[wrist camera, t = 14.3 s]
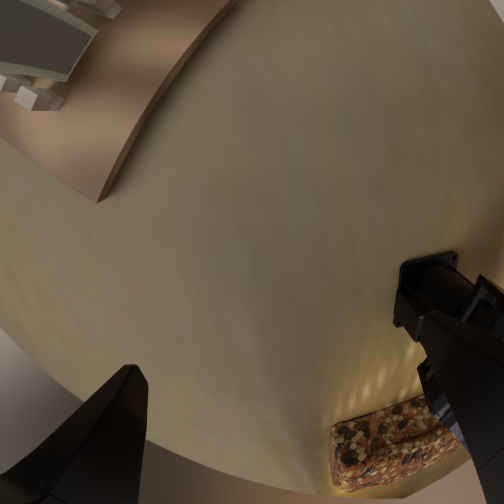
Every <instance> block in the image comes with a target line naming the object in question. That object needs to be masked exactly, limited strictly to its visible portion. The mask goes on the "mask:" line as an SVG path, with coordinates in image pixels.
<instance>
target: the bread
mask: <svg viewBox="0 0 504 504" xmlns="http://www.w3.org/2000/svg"><path fill="white" fill-rule="evenodd" d="M460 444H461V441H460V440H459V439H458V438H457V436H456V435H455V434H453V433H452V432H451V431H450V430H449V429H448V428H446V427H445V426H443V425H442V424H440V423H439V421H438V420H437V419H436V418H435V417H434V416H433V414H431V413H430V412H429V409H428V406H427V403H426V399H425V396H423V395H422V396H419V397H416V398H414V399H410V400H409V401H406V402H403V403H400V404H397V405H394V406H391V407H388V408H385V409H382V410H379V411H375V412H373V413H372V414H370V415H368V416H364V417H363V418H357V419H355V420H354V421H350V422H345V423H341V422H340V423H338V424H337V425H335V426H334V427H332V428H331V432H330V444H329V463H330V470H331V475H332V481H333V485H334V487H338V488H340V489H341V490H343V491H346V492H353V491H356V490H360V489H368V488H371V487H375V486H379V485H387V484H389V483H393V482H395V481H397V480H399V479H402V478H406V477H407V476H409V475H411V474H414V473H415V472H417V471H420V470H421V469H423V468H425V467H427V466H429V465H431V464H433V463H436V462H438V461H440V460H441V459H442V458H445V457H446V456H449V455H450V454H451V453H452V452H454V451H456V449H457V448H458V447H459V445H460Z"/></svg>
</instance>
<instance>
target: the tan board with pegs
mask: <svg viewBox="0 0 504 504" xmlns="http://www.w3.org/2000/svg"><path fill="white" fill-rule="evenodd" d="M47 1H49V2H50V3H52V4H54V5H56V6H58V7H60V8H61V9H63V10H65V11H67V12H68V13H70V14H72V15H73V16H75V17H77V18H79V19H80V20H82V21H83V22H85V23H87V24H88V25H90V26H92V27H93V28H95V29H96V30H98V32H97V34H96V35H95V36H94V38H93V39H92V41H91V42H90V44H89V45H88V47H87V48H86V50H85V51H84V53H83V54H82V56H81V58H80V59H79V61H78V62H77V64H76V66H75V67H74V69H73V71H72V73H71V74H70V76H69V78H68V80H67V82H62V81H57V80H52V79H46V78H41V77H35V76H28V75H22V74H14V73H6V72H0V137H1V138H2V139H3V140H5V141H6V142H7V143H9V144H10V145H11V146H13V147H14V148H16V149H17V150H18V151H20V152H21V153H22V154H24V155H25V156H27V157H28V158H29V159H31V160H32V161H34V162H35V163H36V164H38V165H39V166H41V167H42V168H43V169H45V170H46V171H48V172H49V173H51V174H52V175H53V176H55V177H56V178H58V179H59V180H61V181H62V182H64V183H65V184H67V185H68V186H70V187H71V188H73V189H74V190H75V191H77V192H78V193H80V194H81V195H83V196H84V197H86V198H88V199H89V200H91V201H92V202H94V203H95V204H97V203H99V202H101V201H102V200H104V199H106V197H107V194H108V192H109V190H110V188H111V186H112V184H113V181H114V179H115V177H116V175H117V173H118V171H119V169H120V167H121V165H122V163H123V161H124V160H125V158H126V156H127V154H128V152H129V150H130V148H131V146H132V145H133V143H134V141H135V139H136V138H137V136H138V134H139V132H140V131H141V129H142V127H143V125H144V124H145V122H146V120H147V119H148V117H149V116H150V114H151V112H152V111H153V109H154V108H155V106H156V104H157V103H158V101H159V100H160V98H161V97H162V95H163V94H164V92H165V91H166V89H167V88H168V86H169V85H170V84H171V82H172V81H173V79H174V78H175V77H176V75H177V74H178V72H179V71H180V70H181V68H182V67H183V66H184V64H185V63H186V62H187V60H188V59H189V58H190V56H191V55H192V54H193V53H194V51H195V50H196V49H197V48H198V46H199V45H200V44H201V43H202V41H203V40H204V39H205V38H206V37H207V36H208V34H209V33H210V32H211V31H212V30H213V29H214V27H215V26H216V25H217V24H218V23H219V22H220V21H221V20H222V19H223V17H224V16H225V15H226V14H227V13H228V12H229V11H230V10H231V9H232V8H233V7H234V6H235V5H236V0H47Z"/></svg>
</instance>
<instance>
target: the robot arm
mask: <svg viewBox="0 0 504 504" xmlns="http://www.w3.org/2000/svg"><path fill="white" fill-rule="evenodd" d="M453 256H454V257H453ZM457 261H458V254H457V253H456V252H455V251H451V252H447V253H443V254H439V255H435V256H430V257H426V258H422V259H418V260H413V261H409V262H405V263H403V264H402V265H401V267H400V273H399V283H398V289H397V292H396V300H395V308H394V320H393V324H394V325H395V327H397V328H398V327H402V326H403V327H404V328H405V330H406V331H407V332H408V334H409V335H410V336H411V338H412V339H413V341H415V342H420V343H421V345H422V346H423V348H424V350H425V352H426V355H427V357H426V359H425V360H424V361H423V362H422V363H420V365H419V366H418V367H417V371H418V374H419V378H420V381H421V384H422V388H423V392H424V395H425V399H426V403H427V406H428V409H429V412H430V413H431V414H433V416H434V417H435V418H436V419H437V420H438V421H439V423H440V424H442V425H443V426H445V427H446V428H448V429H449V430H450V431H451V432H452V433H453V434H455V435H456V436H457V438H458V439H459V440H460V441H461V443H462V444H463V445H464V447H465V448H466V450H467V451H468V452H469V453H470V455H471V457H472V460H473V463H474V465H475V468H476V470H477V474H478V477H479V480H480V483H481V486H482V489H483V493H484V496H485V499H486V503H487V504H504V289H502V288H501V287H499V286H498V285H496V284H495V283H493V282H492V281H490V280H489V279H487V278H486V277H484V276H483V275H481V274H479V276H478V278H477V282H476V284H475V285H474V284H473V283H472V282H470V281H469V280H468V279H467V278H466V277H464V276H463V275H462V274H461V273H459V272H458V271H457V270H456V267H457ZM406 268H407V269H406ZM405 269H406V270H405ZM147 408H148V382H147V380H146V379H145V377H144V375H143V373H142V372H141V370H140V368H139V367H138V366H137V365H135V364H127V365H124V366H123V367H121V368H120V369H119V370H118V371H117V372H116V373H115V374H114V375H113V376H112V377H111V378H110V379H109V380H108V381H107V382H106V383H105V384H103V385H102V386H101V387H100V388H99V389H98V390H97V391H96V392H95V393H94V394H93V395H92V396H91V397H90V398H89V399H88V400H87V401H85V402H84V403H83V404H82V405H81V406H80V407H79V408H78V409H77V410H76V411H75V412H74V413H73V414H72V415H71V416H70V417H69V418H68V419H67V420H65V421H64V423H62V424H61V426H59V427H58V428H57V429H56V430H55V433H54V432H53V433H52V434H51V435H50V436H49V437H48V438H47V439H45V440H44V441H43V442H42V443H41V444H40V445H39V446H38V447H37V448H36V449H34V450H33V451H32V452H31V453H29V454H28V455H27V456H26V457H24V458H23V459H22V460H20V461H19V462H18V463H17V464H16V465H14V466H13V467H11V468H10V469H9V470H7V471H6V472H4V473H3V474H0V504H138V499H139V487H140V477H141V468H142V460H143V452H144V444H145V437H146V429H147Z"/></svg>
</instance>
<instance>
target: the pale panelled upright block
mask: <svg viewBox="0 0 504 504" xmlns="http://www.w3.org/2000/svg"><path fill="white" fill-rule="evenodd" d="M97 32H98V30H96V29H95V28H93V27H92V26H90V25H88V24H87V23H85V22H83V21H82V20H80V19H79V18H77V17H75V16H73V15H72V14H70V13H68V12H67V11H65V10H63V9H61V8H60V7H58V6H56V5H54V4H52V3H50V2H49V1H47V0H0V72H6V73H14V74H22V75H28V76H35V77H41V78H46V79H52V80H57V81H62V82H67V80H68V78H69V76H70V74H71V73H72V71H73V69H74V67H75V66H76V64H77V62H78V61H79V59H80V58H81V56H82V54H83V53H84V51H85V50H86V48H87V47H88V45H89V44H90V42H91V41H92V39H93V38H94V36H95V35H96V34H97Z"/></svg>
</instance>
